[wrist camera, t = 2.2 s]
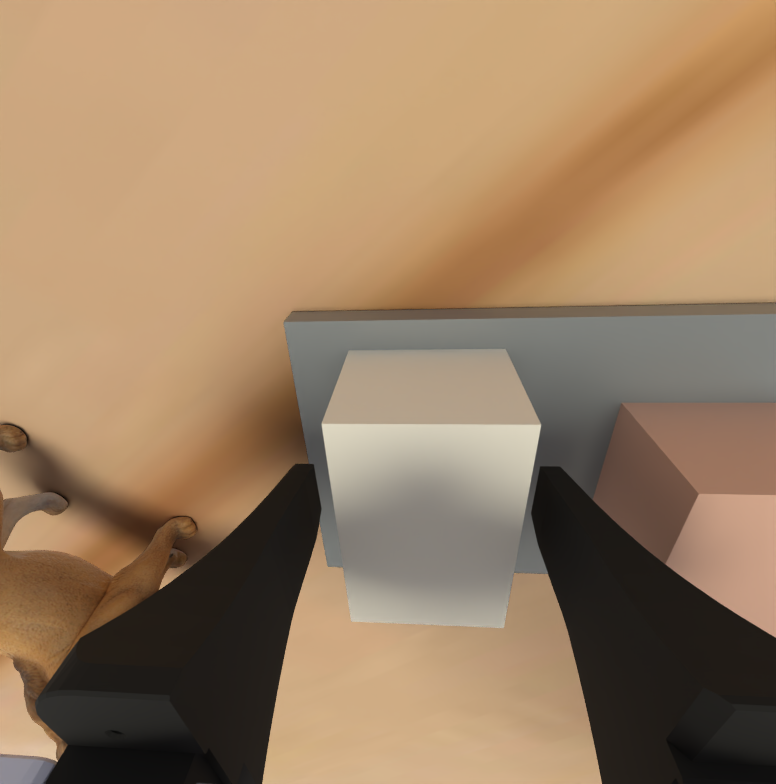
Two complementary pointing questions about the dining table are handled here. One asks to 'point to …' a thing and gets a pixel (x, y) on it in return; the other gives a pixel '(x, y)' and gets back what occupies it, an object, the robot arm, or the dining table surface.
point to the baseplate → (550, 373)
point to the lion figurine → (65, 590)
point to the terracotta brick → (700, 496)
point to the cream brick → (430, 483)
